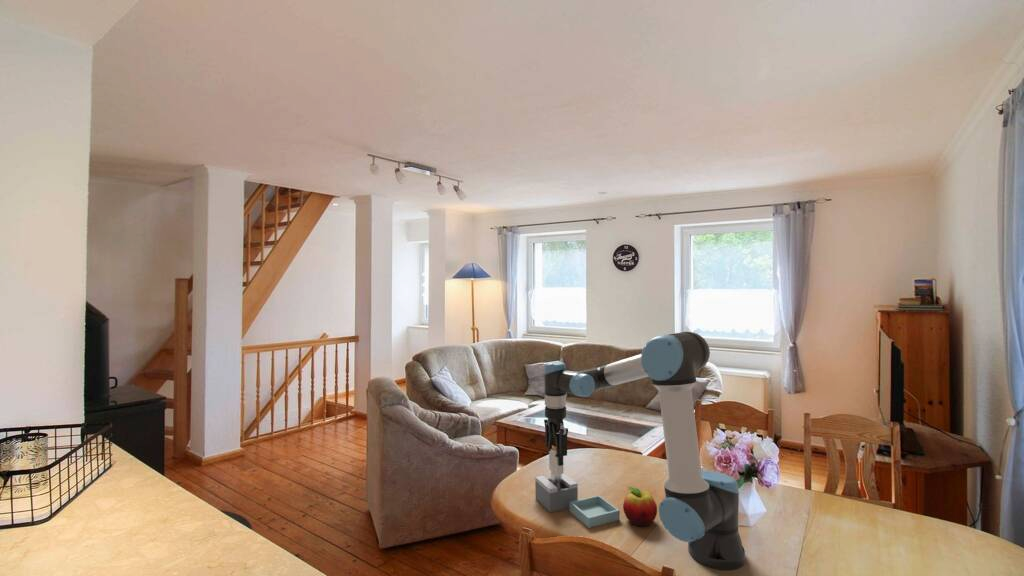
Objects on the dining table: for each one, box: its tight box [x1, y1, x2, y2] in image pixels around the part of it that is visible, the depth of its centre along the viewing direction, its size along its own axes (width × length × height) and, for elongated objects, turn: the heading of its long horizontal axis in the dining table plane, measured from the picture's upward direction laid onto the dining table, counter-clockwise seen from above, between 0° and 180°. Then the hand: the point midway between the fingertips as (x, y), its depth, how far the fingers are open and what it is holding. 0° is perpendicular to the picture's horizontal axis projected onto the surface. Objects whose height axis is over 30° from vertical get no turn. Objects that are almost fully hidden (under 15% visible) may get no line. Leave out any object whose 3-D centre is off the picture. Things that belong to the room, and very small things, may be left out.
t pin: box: [550, 444, 562, 490], centre depth 171 cm, size 7×4×18 cm, turn 24°
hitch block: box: [534, 472, 579, 513], centre depth 171 cm, size 11×11×8 cm
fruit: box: [622, 486, 658, 527], centre depth 157 cm, size 11×11×10 cm
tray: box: [568, 494, 621, 529], centre depth 162 cm, size 12×12×3 cm
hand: (556, 471), depth 171 cm, fingers closed on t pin, 4 cm apart
